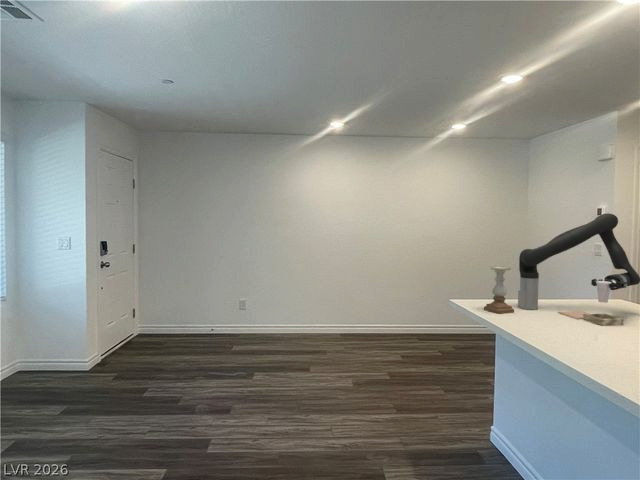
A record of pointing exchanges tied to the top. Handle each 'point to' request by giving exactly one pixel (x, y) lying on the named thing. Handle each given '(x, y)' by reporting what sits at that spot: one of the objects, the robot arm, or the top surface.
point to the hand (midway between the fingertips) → (601, 284)
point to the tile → (574, 314)
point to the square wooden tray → (603, 319)
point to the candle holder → (499, 294)
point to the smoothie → (603, 290)
